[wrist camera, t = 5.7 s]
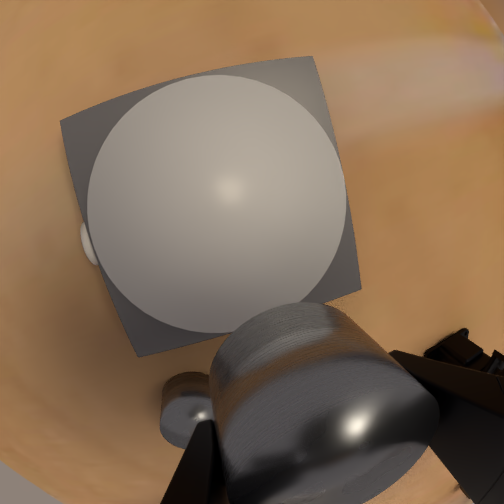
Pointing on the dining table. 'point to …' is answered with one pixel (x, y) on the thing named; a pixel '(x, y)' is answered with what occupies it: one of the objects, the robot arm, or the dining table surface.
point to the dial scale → (213, 200)
